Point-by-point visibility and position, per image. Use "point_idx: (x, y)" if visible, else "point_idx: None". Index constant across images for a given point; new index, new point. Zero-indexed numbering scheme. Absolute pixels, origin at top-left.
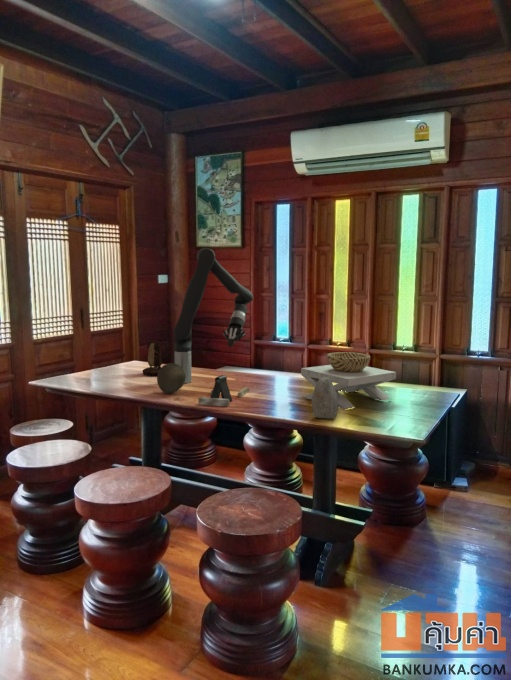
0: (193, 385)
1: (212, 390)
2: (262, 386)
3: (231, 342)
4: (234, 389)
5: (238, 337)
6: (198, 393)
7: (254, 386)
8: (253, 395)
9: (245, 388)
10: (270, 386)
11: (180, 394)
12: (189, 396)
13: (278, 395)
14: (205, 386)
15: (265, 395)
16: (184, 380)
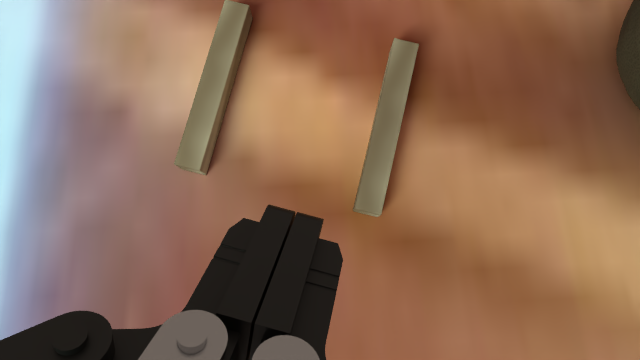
0: (572, 331)
1: (409, 57)
2: None
3: (256, 235)
4: None
5: (12, 347)
6: (491, 90)
7: (137, 322)
8: (160, 56)
9: (199, 125)
10: (21, 329)
11: (592, 59)
12: (528, 15)
13: (10, 63)
14: (482, 301)
15: (88, 60)
16: (627, 21)
